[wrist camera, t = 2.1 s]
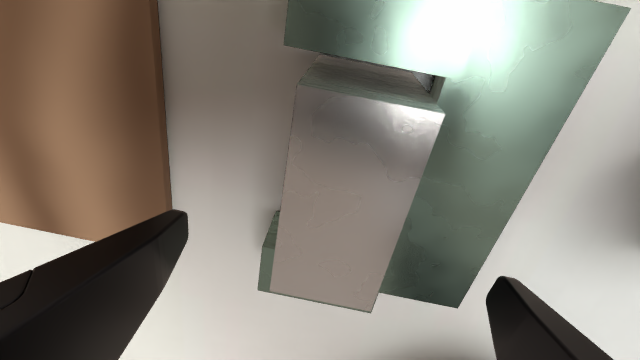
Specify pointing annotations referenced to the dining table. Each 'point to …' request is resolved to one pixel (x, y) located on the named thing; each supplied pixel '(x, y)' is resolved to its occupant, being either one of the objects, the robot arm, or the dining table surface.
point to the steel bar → (350, 178)
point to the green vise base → (464, 113)
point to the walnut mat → (82, 116)
